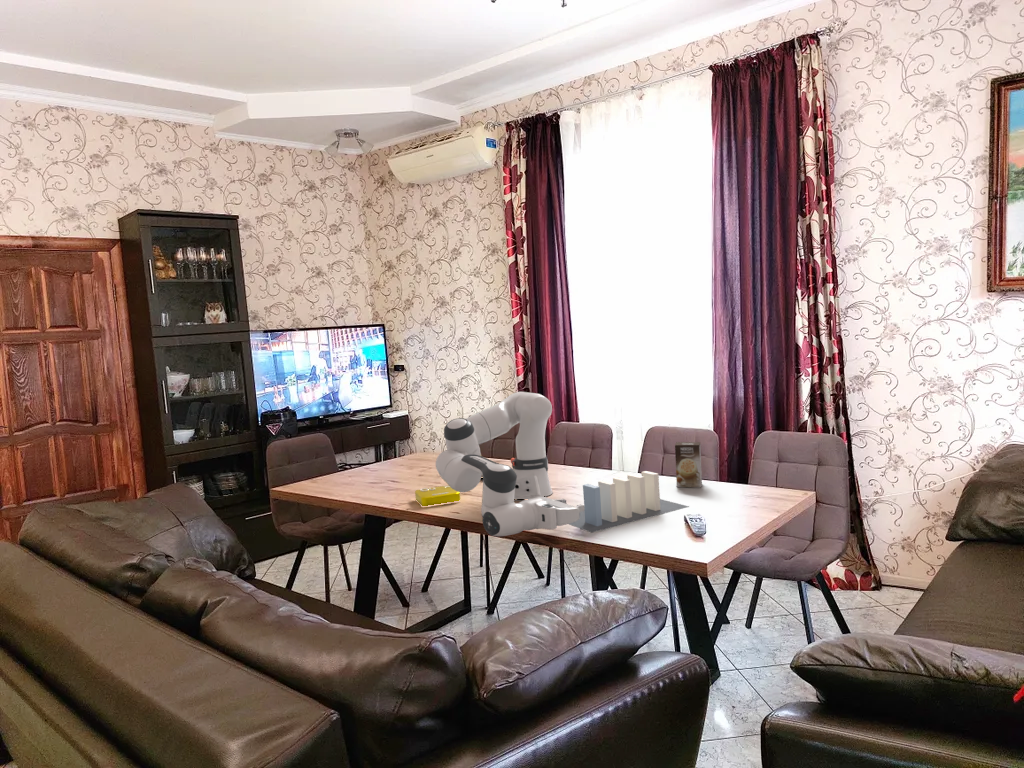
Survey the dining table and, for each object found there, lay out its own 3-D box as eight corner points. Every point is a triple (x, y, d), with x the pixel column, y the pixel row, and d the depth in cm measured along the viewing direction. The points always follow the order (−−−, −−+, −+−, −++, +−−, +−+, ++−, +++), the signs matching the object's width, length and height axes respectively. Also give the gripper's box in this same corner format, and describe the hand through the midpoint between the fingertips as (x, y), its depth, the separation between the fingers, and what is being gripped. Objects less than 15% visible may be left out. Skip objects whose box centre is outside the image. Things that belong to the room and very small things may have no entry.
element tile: (422, 509, 257) (421, 496, 256) (414, 501, 271) (413, 488, 270) (462, 503, 261) (461, 491, 261) (452, 495, 276) (451, 483, 275)
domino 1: (612, 522, 218) (609, 484, 217) (600, 518, 223) (598, 481, 222) (617, 520, 219) (614, 483, 218) (605, 517, 224) (603, 480, 223)
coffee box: (676, 487, 259) (673, 445, 258) (677, 483, 265) (675, 441, 264) (701, 487, 256) (699, 444, 255) (702, 483, 262) (700, 441, 261)
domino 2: (627, 518, 221) (624, 481, 220) (615, 514, 226) (612, 478, 225) (632, 517, 222) (629, 480, 221) (620, 513, 227) (617, 477, 226)
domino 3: (641, 514, 224) (639, 477, 223) (629, 510, 229) (627, 475, 228) (646, 513, 225) (644, 476, 224) (634, 509, 230) (632, 474, 229)
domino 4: (655, 510, 227) (653, 474, 226) (643, 507, 232) (641, 472, 231) (660, 509, 228) (658, 473, 227) (648, 506, 233) (645, 470, 232)
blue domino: (597, 526, 215) (594, 488, 214) (585, 522, 220) (582, 485, 219) (602, 524, 216) (599, 486, 215) (590, 521, 221) (587, 483, 220)
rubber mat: (592, 535, 209) (591, 532, 209) (551, 520, 228) (551, 517, 228) (689, 509, 229) (689, 506, 229) (644, 497, 248) (644, 495, 248)
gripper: (518, 516, 216) (555, 508, 222) (555, 531, 198) (594, 521, 205) (517, 496, 215) (554, 488, 222) (554, 509, 197) (593, 500, 204)
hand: (573, 504), depth 213 cm, fingers open, 8 cm apart
